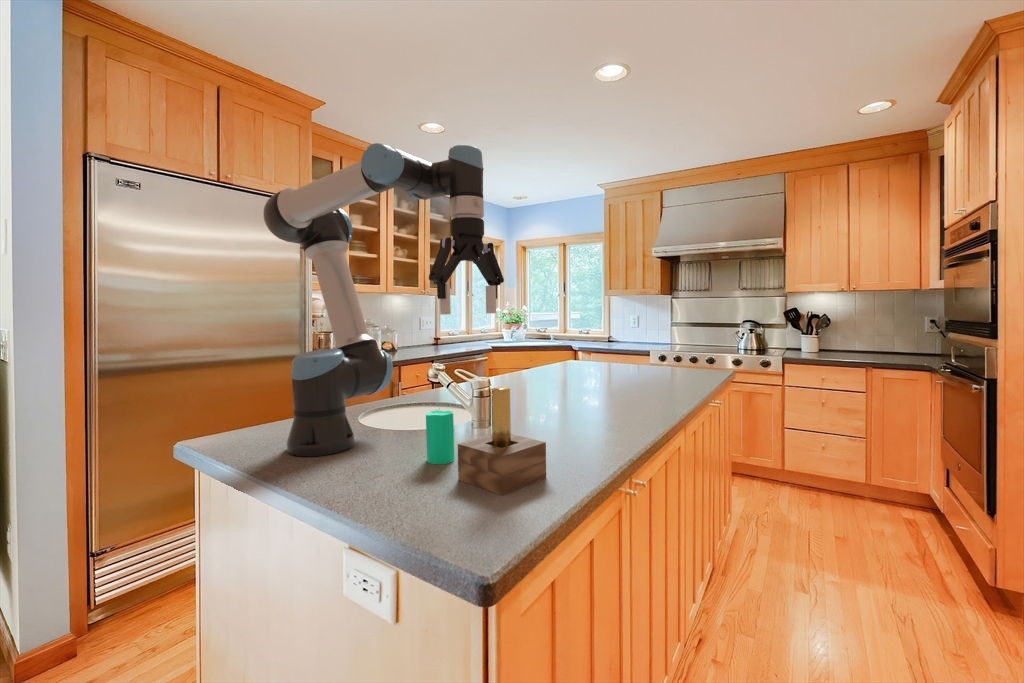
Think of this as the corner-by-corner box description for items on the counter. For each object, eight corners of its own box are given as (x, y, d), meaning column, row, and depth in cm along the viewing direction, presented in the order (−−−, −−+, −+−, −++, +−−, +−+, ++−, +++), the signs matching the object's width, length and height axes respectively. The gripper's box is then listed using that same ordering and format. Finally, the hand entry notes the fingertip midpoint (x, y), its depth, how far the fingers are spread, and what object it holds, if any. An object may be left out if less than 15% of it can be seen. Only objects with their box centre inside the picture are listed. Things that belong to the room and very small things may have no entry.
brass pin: (488, 461, 93) (487, 389, 92) (502, 456, 96) (500, 386, 95) (501, 465, 91) (500, 391, 90) (515, 460, 93) (513, 388, 92)
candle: (449, 464, 102) (448, 408, 102) (422, 463, 104) (421, 408, 103) (458, 456, 108) (457, 403, 107) (432, 455, 109) (431, 402, 109)
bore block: (458, 479, 93) (457, 443, 93) (502, 464, 102) (502, 431, 102) (502, 495, 85) (501, 456, 85) (546, 477, 94) (545, 442, 93)
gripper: (431, 208, 97) (434, 314, 98) (517, 223, 115) (519, 312, 116) (410, 214, 102) (413, 315, 103) (495, 227, 120) (497, 313, 121)
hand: (469, 314), depth 110 cm, fingers open, 13 cm apart
